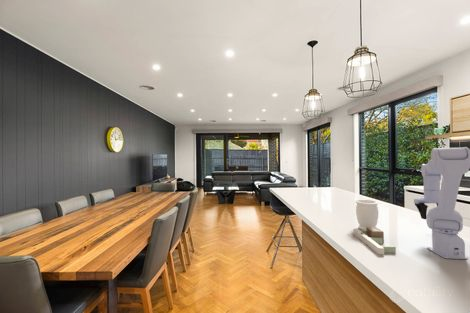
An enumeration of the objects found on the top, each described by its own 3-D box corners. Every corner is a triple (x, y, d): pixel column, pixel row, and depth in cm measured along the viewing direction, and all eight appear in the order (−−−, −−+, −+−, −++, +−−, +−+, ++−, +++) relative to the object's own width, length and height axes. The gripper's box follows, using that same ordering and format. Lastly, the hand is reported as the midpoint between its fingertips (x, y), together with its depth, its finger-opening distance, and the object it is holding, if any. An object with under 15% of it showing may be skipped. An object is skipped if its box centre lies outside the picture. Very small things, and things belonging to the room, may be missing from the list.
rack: (398, 255, 87) (398, 247, 87) (379, 254, 88) (378, 247, 88) (368, 233, 111) (368, 228, 111) (353, 233, 112) (353, 227, 112)
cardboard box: (383, 242, 100) (383, 231, 100) (373, 242, 100) (373, 231, 100) (376, 237, 106) (375, 226, 107) (366, 237, 107) (366, 226, 107)
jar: (367, 233, 112) (366, 204, 112) (352, 227, 122) (351, 200, 122) (383, 230, 115) (382, 202, 115) (367, 225, 125) (366, 199, 125)
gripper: (441, 188, 105) (442, 216, 105) (409, 188, 106) (409, 216, 106) (454, 190, 98) (455, 220, 98) (419, 190, 99) (420, 220, 99)
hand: (432, 218), depth 101 cm, fingers open, 7 cm apart
